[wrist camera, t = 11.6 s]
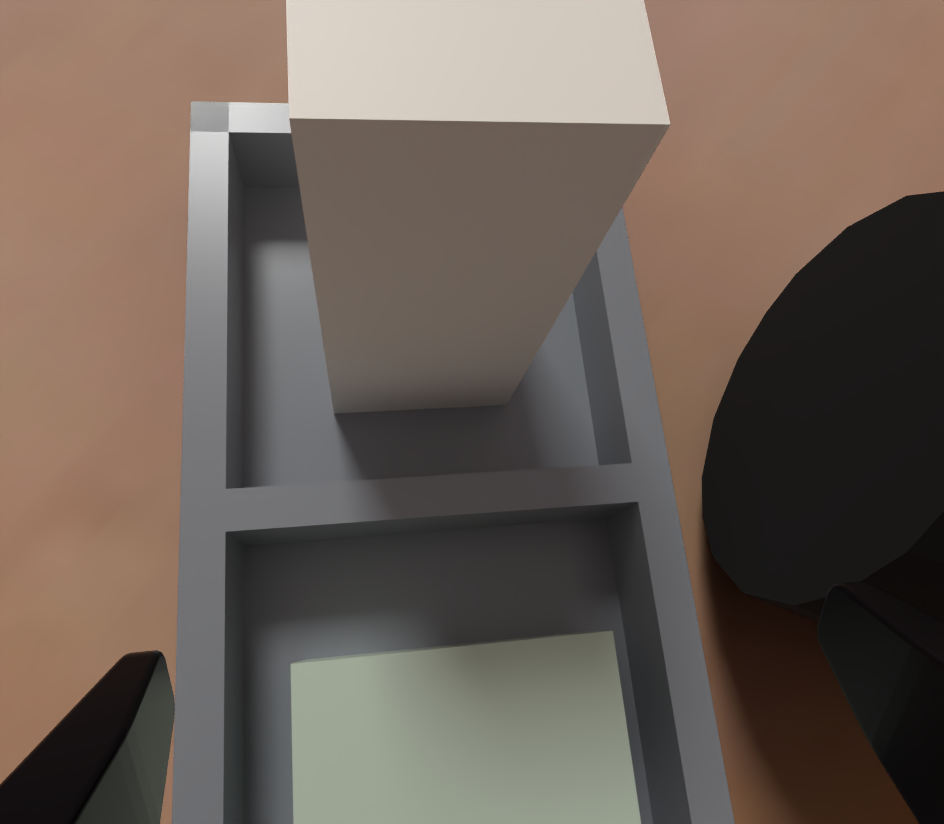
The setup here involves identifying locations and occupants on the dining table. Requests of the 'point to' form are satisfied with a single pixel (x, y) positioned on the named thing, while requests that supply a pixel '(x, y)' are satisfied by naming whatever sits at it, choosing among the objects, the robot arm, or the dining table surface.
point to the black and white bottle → (840, 424)
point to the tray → (420, 556)
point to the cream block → (460, 180)
